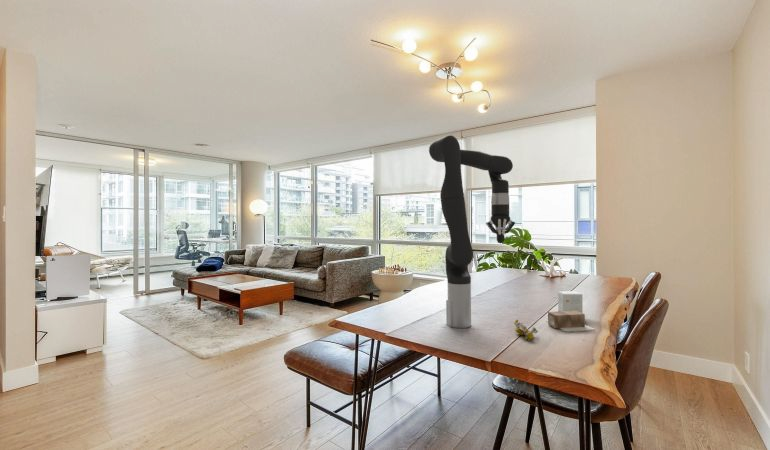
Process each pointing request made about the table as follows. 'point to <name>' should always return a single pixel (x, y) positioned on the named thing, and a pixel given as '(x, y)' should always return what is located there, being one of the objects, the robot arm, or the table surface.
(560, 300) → the small box
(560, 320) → the walnut block
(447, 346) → the table surface
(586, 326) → the mat
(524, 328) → the yellow-green lumpy cluster
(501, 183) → the robot arm
